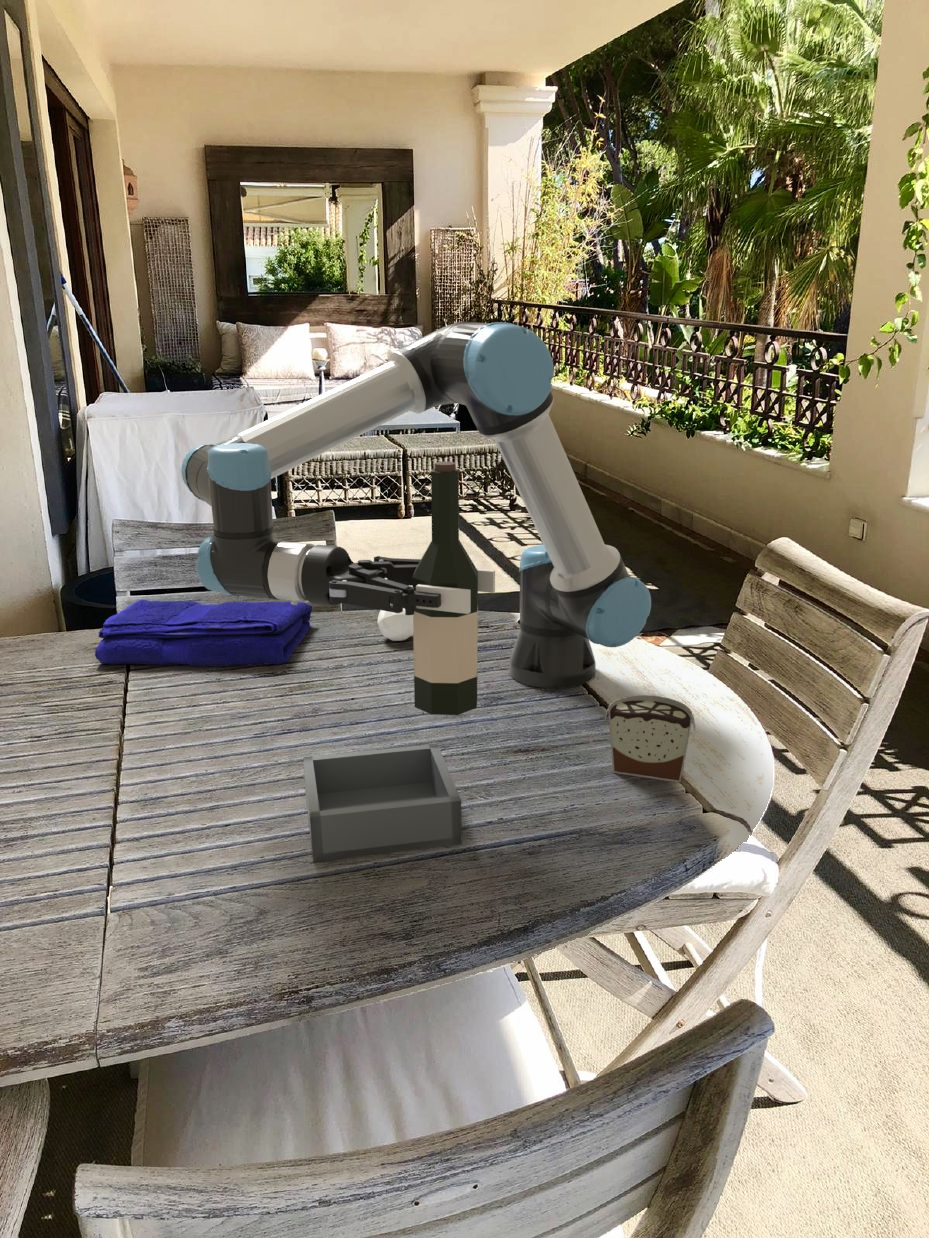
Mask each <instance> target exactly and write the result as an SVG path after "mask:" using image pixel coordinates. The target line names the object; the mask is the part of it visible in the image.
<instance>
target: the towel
mask: <svg viewBox="0 0 929 1238" xmlns="http://www.w3.org/2000/svg"><path fill="white" fill-rule="evenodd" d="M312 612H313V606H312V605H311V604H308V603H305V602H298V604H297V605H292V604H291V601H259V602H257V601H256V602H249V601H248V602H247V601H233V602H232V601H229V602H227V601H226V602H223V603H220V604H202V603H200V602H198V601H192V600H187V601H174V600H172V601H170V600H168V601H166V600H164V601H162V600H161V601H160V600H148V599H138V600H136V601H135V602H134V603H131V604H130V605H128V606H126V607H125V609H122V610H121V611H120V612H118V613H117V614H113V615H111V616H109V617H108V618H107V619H106V620H105V622H103V625H102V628H101V629H99V631H98V638H101V639H102V640H100V642H99V643H98V645H97V646H96V648H95V652H94V656H95V658H96V660H98V662H99V663H100V664H103V665H105V664H106V665H108V664H109V665H148V664H149V665H153V666H155V665H158V666H166V665H170V664H171V665H172V664H173V665H191V666H192V667H227V666H228V667H239V666H246V667H248V666H259V665H262V666H264V665H281V664H285V663H287V662H288V661H289V660H290V659H291V657H292V655H293V654H294V652H295V650H296V649H297V648H298V646H300V644H301V642H302V641H303V640H304V638H305V637H306V636H307V633H309V630H310V629H311V623H310V620H311V614H312Z"/></svg>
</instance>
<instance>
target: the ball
mask: <svg viewBox="0 0 929 1238" xmlns="http://www.w3.org/2000/svg"><path fill="white" fill-rule="evenodd" d="M391 605H392V604H391ZM376 623H377V626H378V629H379V630H380V633H381V636H384V637H385V638H387V639H389V640H391V641H392V642H399V641H401V642H402V641H406V640H407V639H409V638H410V637H411V636H412V635H413V615H405V609H404V608H403V612H401V613H394V612H388V611H383V610H379V613H378V616H377V621H376Z"/></svg>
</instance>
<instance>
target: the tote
mask: <svg viewBox="0 0 929 1238" xmlns="http://www.w3.org/2000/svg"><path fill="white" fill-rule="evenodd" d="M302 760H303V774H304V775H303V777H304V788H305V789H304V790H305V791H304V792H305V803H306V811H307V812H306V813H307V819H308V820H307V821H308V829H309V837H310V845H311V846H310V848H311V855H312V856H311V857H312V862H313V863H316V862H323V861H325V862H326V861H332V860H341V859H349V858H358V857H359V858H360V857H366V856H375V855H382V854H383V855H385V854H391V853H400V852H407V851H409V852H410V851H416V850H424V849H433V848H434V849H435V848H441V847H451V846H457V845H462V844H463V841H462V839H463V838H462V837H463V835H462V799H461V797H460V794H459V792H458V790H457V787H456V784H455V783H454V780H453V777H452V776H451V773H450V770H449V768H448V766H447V763H446V761H445V759H444V757H443V754H442V751H441V749H440V747H439V744H438V743H435V744H434V743H433V744H423V745H422V744H421V745H412V746H402V747H394V748H393V747H392V748H391V747H390V748H381V749H372V750H363V751H362V750H361V751H352V752H351V751H350V752H341V753H340V752H339V753H332V754H331V753H330V754H322V755H311V756H303V758H302Z"/></svg>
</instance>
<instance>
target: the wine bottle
mask: <svg viewBox="0 0 929 1238" xmlns="http://www.w3.org/2000/svg"><path fill="white" fill-rule="evenodd" d="M430 475H431V476H430V478H431V479H430V480H431V481H430V482H431V484H430V486H431V487H430V488H431V489H430V490H431V491H430V492H431V493H430V494H431V495H430V496H431V505H430V506H431V541H430V543H429V545H428V547H427V548H426V550H425V552H424V553H423V555H422V557H421V560H420V562H419V564H418V566H417V567H416V569H415V571H414V574H413V577H412V579H413V586H412V587H414V591H416V586H417V585H418V584H420V585H430V586H440V587H449V588H459V589H469V590H471V612H470V613H469V614H465V613H455V612H446V611H437V610H428V609H419V608H416V606H414V614H413V634H412V635H413V636H412V637H413V638H412V639H413V682H414V683H413V689H414V691H413V692H414V695H413V697H414V699H413V700H414V708H415V709H417V710H420V711H422V712H425V713H427V714H429V715H431V716H433V715H437V716H441V715H442V716H449V715H450V716H459V715H462V714H464V713H466V712H467V713H468V712H469V711H472V710H475V709H477V707H478V671H479V668H478V665H479V663H478V657H479V656H478V655H479V654H478V648H479V647H478V646H479V645H478V643H479V640H478V639H479V638H478V637H479V636H478V634H479V631H478V630H479V629H478V628H479V627H478V623H479V619H478V617H479V605H478V604H479V591H478V570H477V569H478V568H477V567H476V566H475V564H474V562H473V560H472V559H471V557H470V555H469V553H468V552H467V550H466V548H465V547H464V545H463V544H462V542H461V540H460V495H459V494H460V487H459V486H460V471H459V469H458V468H456V462H452V461H437V462H435V463H434V468H432V469H431V471H430ZM476 568H477V569H476Z"/></svg>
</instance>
